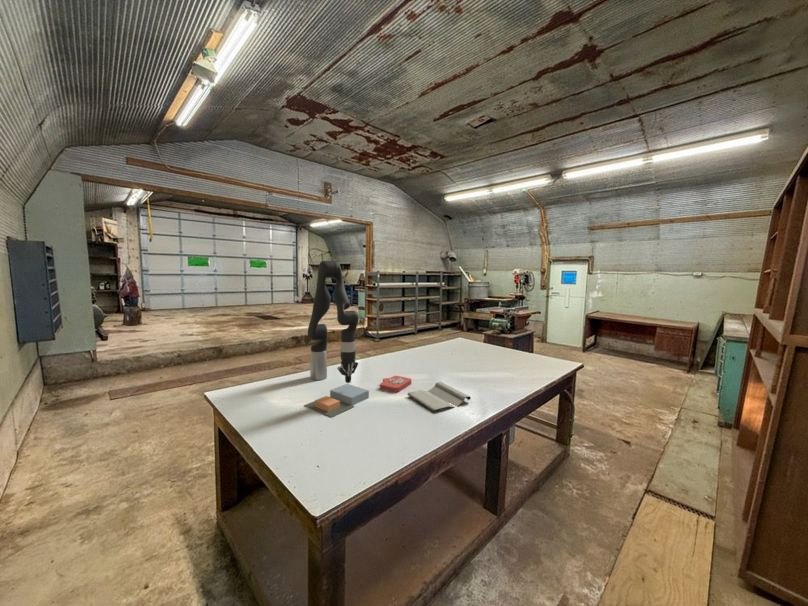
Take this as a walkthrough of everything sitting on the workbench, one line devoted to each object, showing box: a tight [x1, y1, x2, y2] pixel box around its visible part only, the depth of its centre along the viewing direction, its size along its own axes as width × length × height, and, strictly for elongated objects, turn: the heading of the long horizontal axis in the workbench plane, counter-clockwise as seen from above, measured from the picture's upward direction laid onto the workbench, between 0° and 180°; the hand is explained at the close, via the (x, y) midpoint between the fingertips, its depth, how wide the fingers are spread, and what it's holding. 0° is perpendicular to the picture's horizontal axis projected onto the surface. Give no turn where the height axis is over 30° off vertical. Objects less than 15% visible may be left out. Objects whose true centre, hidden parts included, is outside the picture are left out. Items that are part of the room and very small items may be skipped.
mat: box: [406, 381, 471, 413], centre depth 162 cm, size 23×24×5 cm
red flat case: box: [379, 375, 412, 394], centre depth 182 cm, size 18×4×15 cm
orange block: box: [314, 395, 340, 412], centre depth 152 cm, size 10×7×3 cm
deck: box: [329, 383, 370, 406], centre depth 163 cm, size 16×12×4 cm
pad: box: [303, 400, 355, 418], centre depth 153 cm, size 20×14×1 cm
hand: (348, 382), depth 162 cm, fingers closed
